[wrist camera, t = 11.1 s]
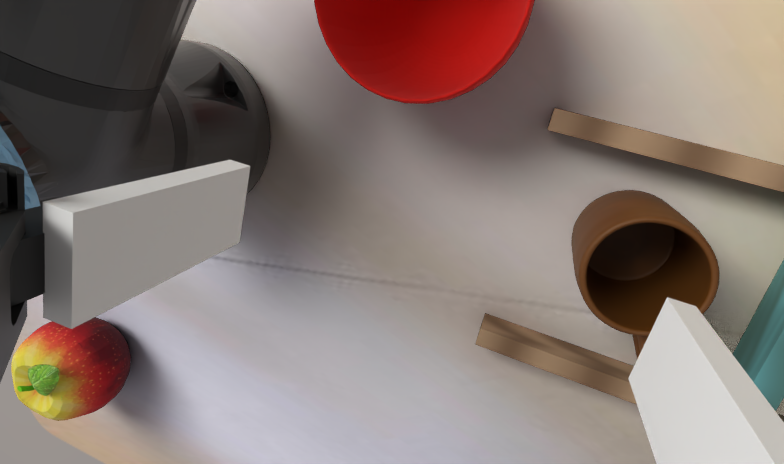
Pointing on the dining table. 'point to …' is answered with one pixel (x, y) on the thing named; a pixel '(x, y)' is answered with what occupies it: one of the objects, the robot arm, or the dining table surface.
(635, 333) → the mug
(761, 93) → the dining table surface
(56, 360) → the fruit
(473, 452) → the dining table surface
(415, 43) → the red bowl
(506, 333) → the u-shaped wooden frame
